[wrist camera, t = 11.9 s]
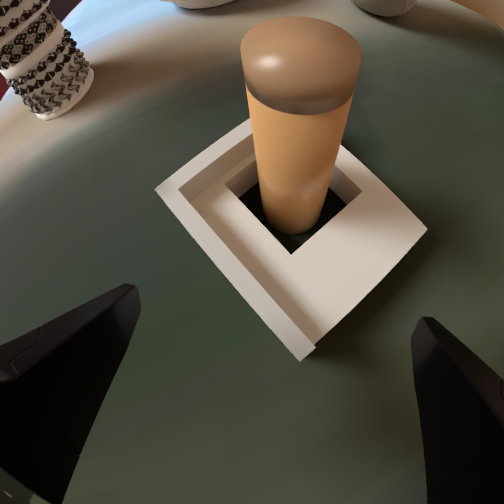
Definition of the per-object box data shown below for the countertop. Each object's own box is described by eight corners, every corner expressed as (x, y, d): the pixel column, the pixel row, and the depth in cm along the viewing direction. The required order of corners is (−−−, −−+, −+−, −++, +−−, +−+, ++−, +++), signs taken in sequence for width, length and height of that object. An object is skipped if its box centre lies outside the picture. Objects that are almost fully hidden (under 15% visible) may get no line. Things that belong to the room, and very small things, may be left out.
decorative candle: (112, 71, 28) (20, -102, 4) (53, 133, 26) (-80, -28, 2) (74, 60, 30) (-7, -76, 6) (24, 112, 28) (-81, -14, 4)
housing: (410, 243, 20) (441, 217, 15) (294, 356, 19) (299, 361, 14) (294, 132, 23) (296, 88, 18) (179, 220, 22) (154, 189, 17)
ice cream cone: (328, 192, 22) (369, 33, 9) (309, 243, 21) (348, 99, 8) (275, 174, 22) (266, 9, 9) (253, 222, 21) (219, 67, 8)
